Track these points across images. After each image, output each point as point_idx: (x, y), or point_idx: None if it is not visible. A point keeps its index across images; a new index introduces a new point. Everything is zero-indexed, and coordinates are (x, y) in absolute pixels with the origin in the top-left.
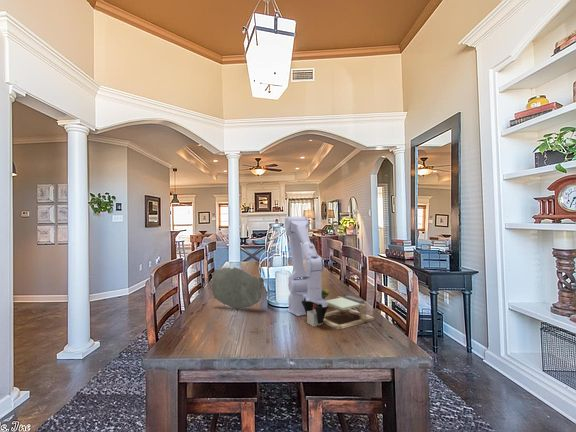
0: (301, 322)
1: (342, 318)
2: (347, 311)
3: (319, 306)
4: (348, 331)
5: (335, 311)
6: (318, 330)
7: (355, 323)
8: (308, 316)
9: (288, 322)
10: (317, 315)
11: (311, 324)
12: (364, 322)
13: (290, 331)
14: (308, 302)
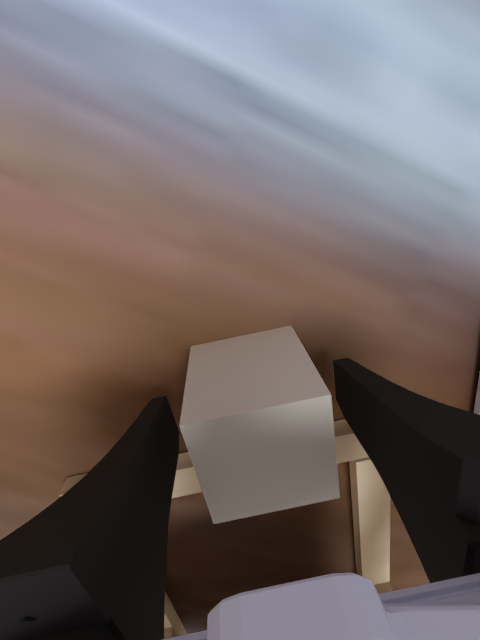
0: (335, 285)
1: (268, 557)
2: None
3: (43, 626)
4: (23, 518)
5: (374, 569)
6: (86, 350)
7: None
8: (283, 368)
9: (407, 151)
10: (122, 452)
11: (223, 344)
12: None
13: (126, 44)
14: (448, 529)
